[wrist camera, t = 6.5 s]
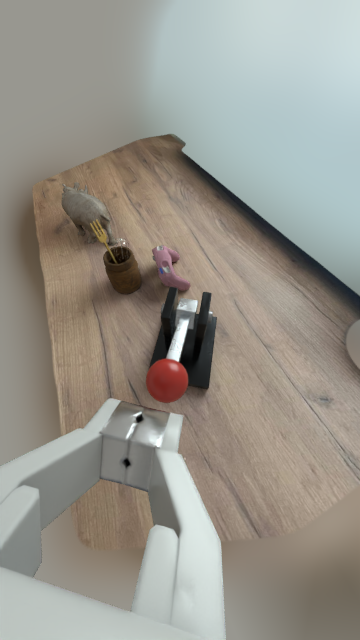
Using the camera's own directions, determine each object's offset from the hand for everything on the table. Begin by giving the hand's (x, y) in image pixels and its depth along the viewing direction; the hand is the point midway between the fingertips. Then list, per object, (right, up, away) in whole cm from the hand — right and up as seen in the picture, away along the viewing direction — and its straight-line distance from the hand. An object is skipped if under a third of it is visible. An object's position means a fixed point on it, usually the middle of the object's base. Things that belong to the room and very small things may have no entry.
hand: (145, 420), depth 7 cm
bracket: (+2, 0, +24) cm, 24 cm away
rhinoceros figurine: (-20, +26, +40) cm, 52 cm away
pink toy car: (-1, +13, +32) cm, 35 cm away
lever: (+1, +1, +12) cm, 12 cm away
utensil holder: (-9, +11, +31) cm, 34 cm away
